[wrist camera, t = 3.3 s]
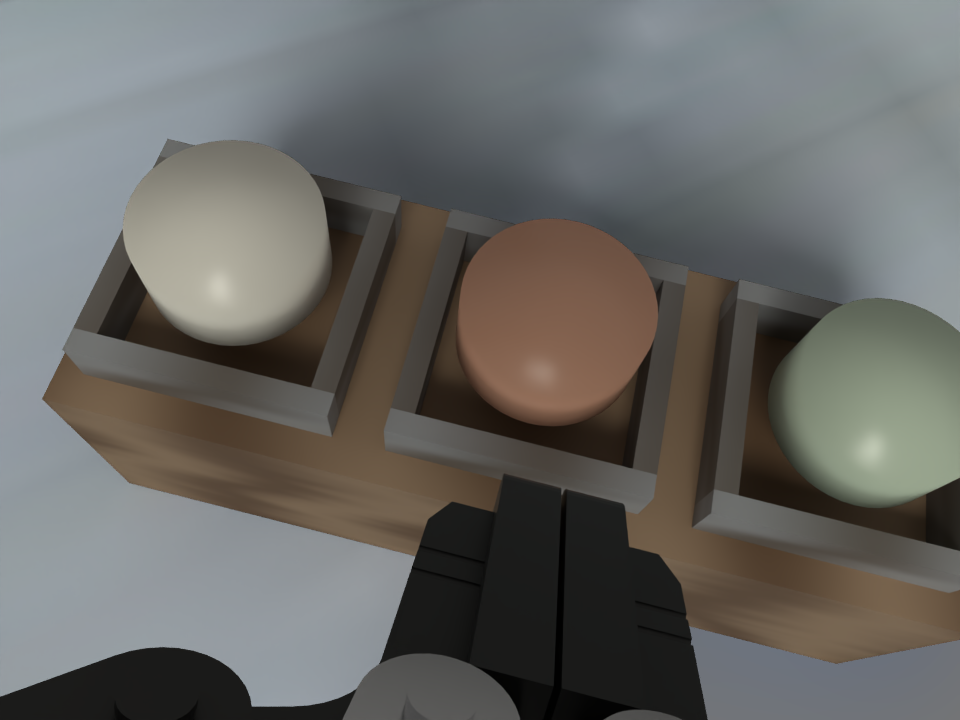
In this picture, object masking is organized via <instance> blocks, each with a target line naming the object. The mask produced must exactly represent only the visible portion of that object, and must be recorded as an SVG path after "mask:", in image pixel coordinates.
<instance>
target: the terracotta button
mask: <svg viewBox="0 0 960 720" xmlns="http://www.w3.org/2000/svg"><path fill="white" fill-rule="evenodd" d="M657 322H658V305H657V299H656V294H655V291H654V288H653V285H652V282H651V280H650V278H649V276H648V274H647V272H646V270H645V269H644V267H643V266H642V264H641V263H640V261H639V260H638V259H637V258H636V257H635V256H634V254H633V253H632V252H631V251H630V250H629V249H628V248H626V247H625V246H624V245H623V244H622V243H621V242H619V241H618V240H616V239H615V238H614V237H612V236H611V235H609V234H607V233H605V232H603V231H602V230H599V229H597V228H595V227H592V226H590V225H587V224H583V223H580V222H576V221H571V220H566V219H538V220H531V221H527V222H523V223H519V224H516V225H514V226H511V227H509V228H506V229H505V230H503V231H501V232H499V233H498V234H496V235H495V236H493V237H492V238H491V239H489V240H488V241H487V242H486V243H485V244H484V245H483V246H482V247H481V248H480V249H479V250H478V251H477V253H476V254H475V255H474V257H473V258H472V260H471V262H470V263H469V265H468V267H467V269H466V272H465V275H464V278H463V282H462V287H461V293H460V301H459V309H458V317H457V325H456V339H455V340H456V351H457V355H458V359H459V362H460V365H461V367H462V370H463V372H464V374H465V376H466V378H467V380H468V381H469V383H470V384H471V385H472V387H473V388H474V389H475V391H476V392H477V393H478V394H479V395H480V396H481V397H482V398H483V399H484V400H485V401H486V402H487V403H489V404H490V405H491V406H492V407H494V408H495V409H497V410H498V411H500V412H502V413H503V414H505V415H507V416H509V417H512V418H514V419H516V420H519V421H522V422H525V423H529V424H534V425H540V426H565V425H570V424H576V423H579V422H582V421H585V420H588V419H590V418H592V417H594V416H596V415H598V414H600V413H601V412H603V411H604V410H606V409H607V408H609V407H610V406H611V405H612V404H613V403H614V402H615V401H616V400H617V399H618V398H619V397H620V395H621V394H622V393H623V392H624V390H625V388H626V387H627V385H628V384H629V382H630V380H631V379H632V377H633V375H634V374H635V372H636V371H637V369H638V367H639V366H640V364H641V362H642V361H643V359H644V358H645V356H646V354H647V353H648V351H649V349H650V347H651V345H652V342H653V340H654V337H655V333H656V329H657Z"/></svg>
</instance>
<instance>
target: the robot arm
mask: <svg viewBox="0 0 960 720" xmlns="http://www.w3.org/2000/svg"><path fill="white" fill-rule="evenodd" d="M686 615H687V612H686V607H685V602H684V597H683V592H682V587H681V583H680V582H679V581H678V579H677V578H676V577H675V575H674V574H673V573H672V571H671V570H670V569H669V567H668V566H667V565H666V563H665V562H664V561H663V559H662V558H661V557H660V555H659V554H656V553H652V552H648V551H644V550H640V549H636V548H632V547H629V540H628V530H627V521H626V511H625V505H624V504H623V503H619V502H615V501H612V500H608V499H604V498H600V497H596V496H592V495H588V494H584V493H580V492H576V491H572V490H568V489H565V490H564V492H563V494H562V496H561V488H560V487H556V486H552V485H548V484H544V483H540V482H536V481H533V480H529V479H525V478H521V477H517V476H513V475H509V474H505V473H504V474H503V477H502V480H501V483H500V487H499V491H498V494H497V498H496V502H495V506H494V509H493V512H492V511H488V510H484V509H480V508H476V507H472V506H468V505H464V504H460V503H457V502H453V501H452V502H451V503H449V504H448V505H447V506H445V507H444V508H442V509H441V510H440V511H438V512H437V513H436V514H434V515H433V516H431V517H430V518H429V519H428V521H427V524H426V527H425V530H424V533H423V536H422V539H421V542H420V545H419V548H418V551H417V554H416V557H415V560H414V563H413V566H412V569H411V573H410V575H409V578H408V581H407V584H406V587H405V590H404V593H403V596H402V599H401V602H400V605H399V608H398V611H397V614H396V617H395V620H394V623H393V626H392V629H391V632H390V635H389V638H388V641H387V644H386V647H385V650H384V653H383V656H382V659H381V661H380V663H379V665H378V666H376V667H375V668H373V669H372V670H371V671H370V672H369V673H368V674H367V675H366V676H365V677H364V678H363V680H362V681H361V683H360V684H359V686H358V688H357V689H356V690H354V691H353V692H351V693H349V694H347V695H345V696H342V697H340V698H338V699H335V700H332V701H328V702H325V703H320V704H315V705H309V706H294V707H252V706H251V699H250V696H249V693H248V691H247V689H246V686H245V685H244V684H243V682H242V681H241V679H240V678H239V676H237V675H236V674H235V673H234V672H233V671H232V670H231V669H230V668H229V667H227V666H226V665H224V664H223V663H221V662H220V661H218V660H216V659H214V658H212V657H210V656H208V655H205V654H202V653H198V652H195V651H191V650H186V649H180V648H165V647H159V648H145V649H139V650H134V651H129V652H126V653H122V654H119V655H115V656H112V657H110V658H107V659H104V660H101V661H99V662H96V663H93V664H90V665H87V666H85V667H82V668H79V669H76V670H74V671H71V672H68V673H65V674H62V675H60V676H57V677H54V678H51V679H49V680H46V681H43V682H40V683H37V684H35V685H32V686H29V687H26V688H24V689H21V690H18V691H15V692H12V693H10V694H7V695H4V696H1V697H0V720H708V719H707V714H706V710H705V704H704V699H703V694H702V689H701V684H700V679H699V674H698V669H697V663H696V658H695V653H694V648H693V646H692V645H691V640H692V638H691V633H690V628H689V623H688V620H687V619H686Z"/></svg>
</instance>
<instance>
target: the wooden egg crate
mask: <svg viewBox="0 0 960 720" xmlns="http://www.w3.org/2000/svg"><path fill="white" fill-rule="evenodd" d="M193 146H195V145H191V144H187V143H182V142H178V141H174V140H170V139H167V141H166V143H165V145H164V147H163V149H162V151H161V153H160V155H159V157H158V159H157V161H156V163H155V165H154V167H156V166H157V165H158V164H159V163H161V162H162V161H164V160H165V159H167V158H169V157H170V156H172V155H174V154H176V153H178V152H180V151H182V150H184V149H187V148H190V147H193ZM154 167H153V168H154ZM310 175H311V177H312V178H313V179H314V181H315V182H316V184H317V186H318V188H319V190H320V192H321V195H322V198H323V201H324V206H325V211H326V218H327V225H328V232H329V238H330V245H331V252H332V272H331V278H330V281H329V285H328V287H327V290H326V292H325V294H324V296H323V298H322V299H321V301H320V303H319V304H318V306H317V307H316V308H315V309H314V310H313V312H312V313H311V314H310V315H309V316H308V317H307V318H306V319H305V320H303V321H302V322H301V323H300V324H298V325H297V326H296V327H294V328H293V329H291V330H289V331H288V332H286V333H284V334H282V335H280V336H278V337H275V338H273V339H270V340H267V341H264V342H260V343H256V344H250V345H240V346H227V345H217V344H212V343H207V342H204V341H201V340H198V339H195V338H193V337H191V336H189V335H186V334H185V333H183V332H181V331H180V330H178V329H177V328H175V327H174V326H173V325H172V324H171V323H170V322H168V321H167V320H166V319H165V317H164V316H163V315H162V314H161V313H160V311H159V310H158V308H157V307H156V305H155V303H154V302H153V300H152V298H151V296H150V295H149V293H148V291H147V289H146V287H145V286H144V284H143V282H142V280H141V279H140V277H139V275H138V273H137V271H136V270H135V268H134V266H133V264H132V263H131V261H130V258H129V256H128V254H127V251H126V248H125V244H124V239H123V229H122V231H121V233H120V235H119V237H118V239H117V241H116V243H115V245H114V247H113V249H112V251H111V253H110V255H109V257H108V259H107V261H106V263H105V265H104V267H103V269H102V271H101V273H100V275H99V277H98V279H97V281H96V283H95V285H94V287H93V289H92V291H91V293H90V295H89V297H88V299H87V301H86V303H85V305H84V307H83V309H82V311H81V313H80V315H79V317H78V319H77V321H76V323H75V325H74V327H73V329H72V331H71V333H70V335H69V337H68V339H67V341H66V343H65V345H64V348H63V351H64V352H65V354H64V356H63V358H62V360H61V362H60V364H59V366H58V368H57V370H56V372H55V374H54V376H53V378H52V380H51V382H50V384H49V386H48V388H47V390H46V392H45V394H44V396H43V398H42V399H43V400H44V401H45V402H46V403H47V404H48V405H49V406H50V407H51V408H52V409H53V410H54V411H55V412H56V413H57V414H58V415H59V416H60V417H61V418H62V419H63V420H64V421H65V422H67V423H68V424H69V425H70V426H71V427H72V428H73V429H74V430H75V431H76V432H77V433H78V434H79V435H80V436H81V437H82V438H83V439H84V440H85V441H86V442H87V443H88V444H89V445H90V446H91V447H93V448H94V449H95V450H96V451H97V452H98V453H99V454H100V455H101V456H102V457H103V458H104V459H105V460H106V461H107V462H108V463H109V464H110V465H111V466H112V467H113V468H114V469H115V470H116V471H117V472H119V473H120V474H121V475H122V476H123V477H124V478H125V479H126V480H127V481H128V482H129V483H132V484H136V485H140V486H144V487H148V488H151V489H155V490H159V491H163V492H167V493H171V494H175V495H179V496H183V497H187V498H191V499H194V500H198V501H202V502H206V503H210V504H214V505H218V506H222V507H226V508H230V509H234V510H237V511H241V512H245V513H249V514H253V515H257V516H261V517H265V518H269V519H273V520H277V521H280V522H284V523H288V524H292V525H296V526H300V527H304V528H308V529H312V530H316V531H320V532H323V533H327V534H331V535H335V536H339V537H343V538H347V539H351V540H355V541H359V542H362V543H366V544H370V545H374V546H378V547H382V548H386V549H390V550H394V551H398V552H402V553H405V554H409V555H413V556H416V554H417V551H418V548H419V545H420V542H421V539H422V536H423V533H424V530H425V527H426V524H427V521H428V519H429V518H430V517H431V516H433V515H434V514H436V513H437V512H438V511H440V510H441V509H442V508H444V507H445V506H447V505H448V504H449V503H451V502H452V501H453V502H457V503H460V504H464V505H468V506H472V507H476V508H480V509H484V510H488V511H492V512H493V509H494V506H495V502H496V498H497V494H498V491H499V487H500V483H501V480H502V477H503V474H504V473H505V474H509V475H513V476H517V477H521V478H525V479H529V480H533V481H536V482H540V483H544V484H548V485H552V486H556V487H560V488H561V496H562V494H563V492H564V490H565V489H568V490H572V491H576V492H580V493H584V494H588V495H592V496H596V497H600V498H604V499H608V500H612V501H615V502H619V503H623V504H624V505H625V511H626V521H627V530H628V540H629V547H632V548H636V549H640V550H644V551H648V552H652V553H656V554H659V555H660V557H661V558H662V559H663V561H664V562H665V563H666V565H667V566H668V567H669V569H670V570H671V571H672V573H673V574H674V575H675V577H676V578H677V579H678V581H679V582H680V583H681V587H682V592H683V597H684V602H685V607H686V612H687V615H686V619H687V620H688V623H689V626H691V627H695V628H699V629H703V630H707V631H711V632H715V633H719V634H722V635H726V636H730V637H734V638H738V639H742V640H746V641H750V642H753V643H758V644H761V645H765V646H769V647H773V648H777V649H781V650H785V651H789V652H792V653H796V654H800V655H804V656H808V657H812V658H816V659H820V660H824V661H828V662H832V663H835V664H837V663H842V662H848V661H853V660H858V659H863V658H867V657H873V656H879V655H883V654H889V653H894V652H899V651H905V650H910V649H915V648H920V647H925V646H930V645H935V644H940V643H946V642H951V641H956V640H960V478H958V479H956V480H954V481H952V482H950V483H948V484H946V485H944V486H942V487H940V488H938V489H935V490H933V491H931V492H929V493H927V494H925V495H923V496H921V497H919V498H917V499H915V500H913V501H910V502H908V503H905V504H903V505H899V506H895V507H889V508H866V507H860V506H855V505H851V504H848V503H845V502H842V501H840V500H837V499H835V498H833V497H831V496H829V495H827V494H825V493H824V492H822V491H820V490H819V489H817V488H816V487H815V486H813V485H812V484H811V483H809V482H808V481H807V480H806V479H805V478H804V477H802V476H801V475H800V474H799V473H798V472H797V471H796V469H795V468H794V467H793V466H792V465H791V464H790V462H789V461H788V460H787V458H786V457H785V455H784V454H783V452H782V451H781V449H780V447H779V445H778V443H777V441H776V439H775V436H774V434H773V431H772V428H771V424H770V420H769V413H768V392H769V387H770V383H771V380H772V377H773V374H774V372H775V370H776V368H777V367H778V365H779V364H780V362H781V361H782V360H783V358H784V357H785V356H786V355H787V354H788V353H789V352H790V351H791V350H792V349H793V348H794V347H795V346H796V345H797V344H798V343H799V342H800V341H801V340H802V339H803V338H804V337H805V336H806V335H807V334H808V333H809V332H810V331H811V330H812V328H813V327H814V326H815V325H816V324H817V323H818V322H819V321H820V320H821V319H822V318H823V317H825V316H826V315H827V314H828V313H830V312H831V311H833V310H834V309H836V308H838V307H840V306H842V304H838V303H834V302H830V301H826V300H822V299H818V298H814V297H810V296H806V295H802V294H798V293H794V292H789V291H785V290H781V289H777V288H773V287H769V286H765V285H761V284H757V283H753V282H749V281H745V280H741V279H739V281H738V282H734V281H730V280H726V279H722V278H718V277H714V276H710V275H706V274H701V273H697V272H693V271H689V270H688V268H689V267H688V266H684V265H679V264H675V263H671V262H667V261H663V260H659V259H655V258H651V257H647V256H643V255H639V254H635V253H633V254H634V256H635V257H636V258H637V259H638V260H639V261H640V263H641V264H642V266H643V267H644V269H645V270H646V272H647V274H648V276H649V278H650V280H651V282H652V285H653V288H654V291H655V294H656V299H657V305H658V322H657V329H656V333H655V337H654V340H653V342H652V345H651V347H650V349H649V351H648V353H647V354H646V356H645V358H644V359H643V361H642V362H641V364H640V366H639V367H638V369H637V371H636V372H635V374H634V375H633V377H632V379H631V380H630V382H629V384H628V385H627V387H626V388H625V390H624V392H623V393H622V394H621V395H620V397H619V398H618V399H617V400H616V401H615V402H614V403H613V404H612V405H611V406H610V407H609V408H607V409H606V410H604V411H603V412H601V413H600V414H598V415H596V416H594V417H592V418H590V419H588V420H585V421H582V422H579V423H576V424H570V425H565V426H540V425H534V424H529V423H525V422H522V421H519V420H516V419H514V418H512V417H509V416H507V415H505V414H503V413H502V412H500V411H498V410H497V409H495V408H494V407H492V406H491V405H490V404H489V403H487V402H486V401H485V400H484V399H483V398H482V397H481V396H480V395H479V394H478V393H477V392H476V391H475V389H474V388H473V387H472V385H471V384H470V383H469V381H468V380H467V378H466V376H465V374H464V372H463V370H462V367H461V365H460V362H459V359H458V355H457V351H456V340H455V339H456V325H457V317H458V309H459V301H460V293H461V287H462V282H463V278H464V275H465V272H466V269H467V267H468V265H469V263H470V262H471V260H472V258H473V257H474V255H475V254H476V253H477V251H478V250H479V249H480V248H481V247H482V246H483V245H484V244H485V243H486V242H487V241H488V240H489V239H491V238H492V237H493V236H495V235H496V234H498V233H499V232H501V231H503V230H505V229H506V228H509V227H511V226H514V225H516V224H512V223H508V222H504V221H500V220H496V219H492V218H488V217H484V216H480V215H476V214H472V213H468V212H464V211H460V210H455V209H451V211H450V212H449V211H445V210H441V209H437V208H433V207H429V206H425V205H420V204H416V203H412V202H408V201H404V200H401V196H398V195H394V194H390V193H386V192H382V191H378V190H374V189H370V188H366V187H362V186H358V185H354V184H350V183H345V182H341V181H337V180H333V179H329V178H325V177H321V176H317V175H313V174H310Z"/></svg>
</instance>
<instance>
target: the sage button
mask: <svg viewBox="0 0 960 720" xmlns="http://www.w3.org/2000/svg"><path fill="white" fill-rule="evenodd" d="M768 413H769V420H770V424H771V428H772V431H773V434H774V436H775V439H776V441H777V443H778V445H779V447H780V449H781V451H782V452H783V454H784V455H785V457H786V458H787V460H788V461H789V462H790V464H791V465H792V466H793V467H794V468H795V469H796V471H797V472H798V473H799V474H800V475H801V476H802V477H804V478H805V479H806V480H807V481H808V482H809V483H811V484H812V485H813V486H815V487H816V488H817V489H819V490H820V491H822V492H824V493H825V494H827V495H829V496H831V497H833V498H835V499H837V500H840V501H842V502H845V503H848V504H851V505H855V506H860V507H866V508H889V507H895V506H899V505H903V504H905V503H908V502H910V501H913V500H915V499H917V498H919V497H921V496H923V495H925V494H927V493H929V492H931V491H933V490H935V489H938V488H940V487H942V486H944V485H946V484H948V483H950V482H952V481H954V480H956V479H958V478H960V332H959V331H958V330H956V329H955V328H954V327H953V326H952V325H950V324H949V323H947V322H946V321H945V320H943V319H942V318H940V317H939V316H937V315H935V314H933V313H931V312H929V311H928V310H925V309H923V308H920V307H918V306H916V305H913V304H909V303H906V302H903V301H898V300H892V299H882V298H873V299H862V300H857V301H853V302H850V303H847V304H844V305H842V306H840V307H838V308H836V309H834V310H833V311H831V312H830V313H828V314H827V315H826V316H825V317H823V318H822V319H821V320H820V321H819V322H818V323H817V324H816V325H815V326H814V327H813V328H812V330H811V331H810V332H809V333H808V334H807V335H806V336H805V337H804V338H803V339H802V340H801V341H800V342H799V343H798V344H797V345H796V346H795V347H794V348H793V349H792V350H791V351H790V352H789V353H788V354H787V355H786V356H785V357H784V358H783V360H782V361H781V362H780V364H779V365H778V367H777V368H776V370H775V372H774V374H773V377H772V380H771V383H770V387H769V392H768Z"/></svg>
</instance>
